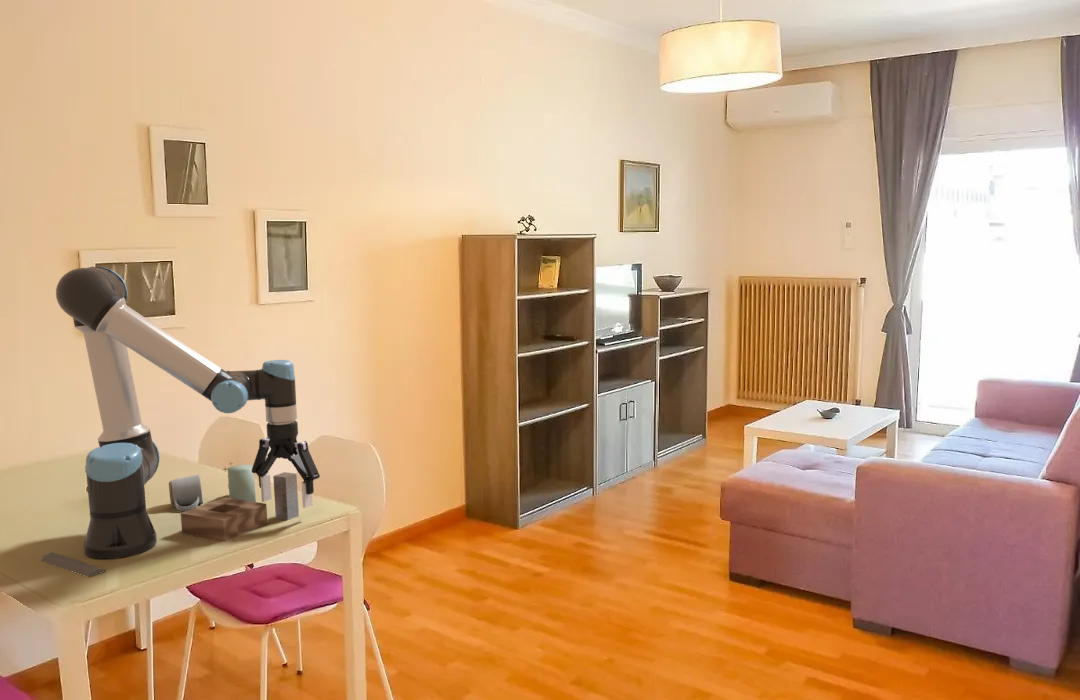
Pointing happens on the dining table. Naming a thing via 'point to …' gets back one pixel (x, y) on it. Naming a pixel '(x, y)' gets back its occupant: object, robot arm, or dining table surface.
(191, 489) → the ceramic mug
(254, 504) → the socket block
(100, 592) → the dining table surface
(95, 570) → the half round rod
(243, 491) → the round peg
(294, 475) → the square peg
